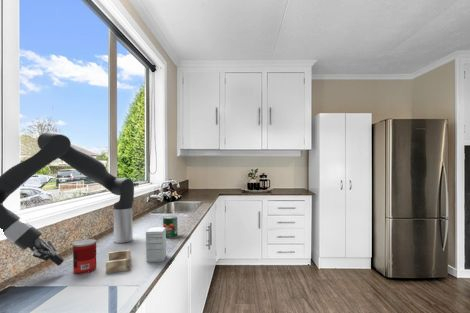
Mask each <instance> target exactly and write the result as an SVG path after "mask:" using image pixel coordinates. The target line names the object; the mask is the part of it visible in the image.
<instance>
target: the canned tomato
mask: <svg viewBox="0 0 470 313" xmlns="http://www.w3.org/2000/svg"><path fill="white" fill-rule="evenodd" d="M162 227H166V240H168V239H175V238H177V237H178V236H179V235H178V234H179V233H178V215H165V216H163V217H162Z"/></svg>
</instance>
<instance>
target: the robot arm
mask: <svg viewBox="0 0 470 313" xmlns="http://www.w3.org/2000/svg"><path fill="white" fill-rule="evenodd" d="M36 143H37V145H38V147H39V149H40V150H39V151H37V152H35V154H33V155H31V156H30V157H29V158H27V159H25V160H23V161H21V162H19V163H17V164H15V165H12V167H10V168H9V169H7V170H6V171H5V172H3V173H2V174H1V175H0V228H1V229H3V232H4V235H5V236H6V239H7V240H9V241H10V242H11V243H13V244H14V245H15V246H17V247H18V248H20V249H21V250H22V251H25V250H27V249H30V251H31V252H32V253H33V255H32V256H33V257H34V258H36V259H37V258H38V259H39V260H43V261H46V262H47V261H51V262H53V263H54V264H56V265H57V266H61V265H62V263H63V262H64V261H65V259H64V258H62V257H61V256H60V255H59V254H57V249H56V248H55V247H54V245H53V243H52V242H51V241H50V240H48V241H46V240H45V239H42V238H41V236H42V234H43V233H42V232H41V231H39V230H38V229H37V228H36V227H34V226H33V225H32V224H30V223H29V222H28V221H26V220H25V219H22V218H21V217H20V216H18V214H15V213H14V212H13V211H11V210H10V209H8V208H6V206H4V205H3V203H4V202H5V201H6V200H7V199H8V197H9V196H11V195H12V194H13V193H14V192H16V190H18V189H19V188H20V187H22V185H24V184H25V183H26V182H27V181H29V179H30V178H32V177H33V176H34V175H35V174H37V173H38V172H40V171H41V170H42V169H44V168H45V167H47V166H48V165H49V164H51V163H53V162H54V161H55V160H57V159H58V160H60V161H62V162H64V163H66V164H67V165H68V166H70V167H71V168H72V169H74V170H75V171H76V172H78V173H80V174H81V175H83V176H85V177H87V178H88V179H90V180H92V181H94V182H95V183H97V184H99V185H101V186H102V187H104V189H106V190H107V191H108V192H110V193H111V194H113V195H115V196H119V200H118V201H116V202H114V203H113V242H114V243H116V244H121V243H129V242H131V241H133V239H134V237H133V235H134V234H133V231H134V230H133V204H134V201H135V200H134V198H135V185H134V182H133V180H132V179H131V178H129V177H128V178H127V177H117V176H115V175H112V174H111V173H109V172H108V170H107V167H106V165H105V164H104V163H103V162H102V161H100V160H99V159H98V158H96V157H94V156H93V155H91V154H89V153H86V152H84V151H82V150H80V149H78V148H75V147H74V146H72V144H71V139H70V138H69V136H67V135H65V134H63V133H59V132H55V131H45V132H43V133H40V134H39V136H38V137H37V141H36ZM4 235H3V236H4ZM5 236H4V237H5Z"/></svg>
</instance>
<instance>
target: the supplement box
mask: <svg viewBox="0 0 470 313" xmlns="http://www.w3.org/2000/svg"><path fill="white" fill-rule="evenodd" d="M145 257H146V260H145V261H146V263H151V262H152V263H155V262H156V263H157V262H164V261H165V259H166V257H167V239H166V227H163V226H162V227H159V226H158V227H148V229H147V230H146V231H145Z"/></svg>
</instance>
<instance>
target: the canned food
mask: <svg viewBox="0 0 470 313" xmlns="http://www.w3.org/2000/svg"><path fill="white" fill-rule="evenodd" d="M72 250H73V251H72V264H73V273H74V274H77V275H83V274H88V273H91V272H93V271H96V270H97V240H96V239H93V238H89V239H88V238H87V239H81V240H78V241H74V242H73V244H72Z"/></svg>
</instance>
